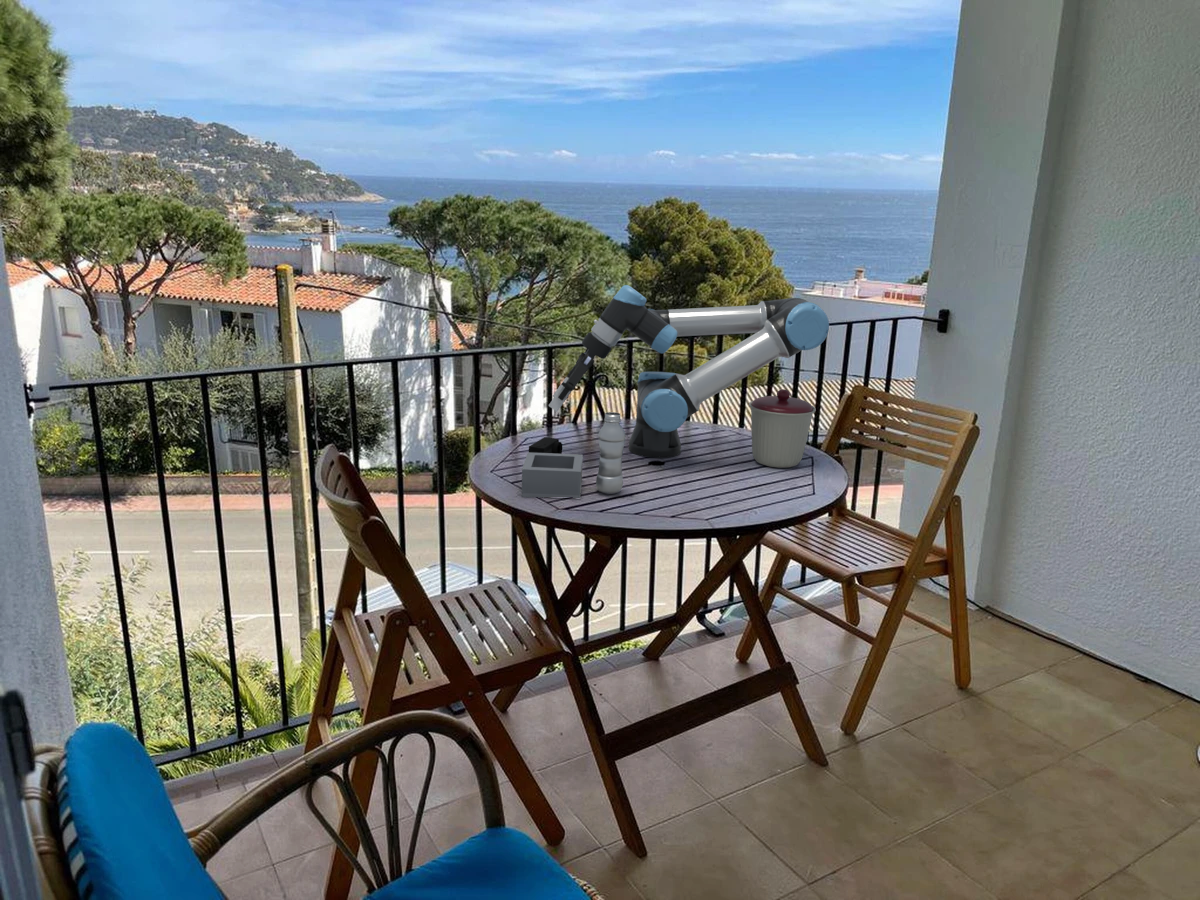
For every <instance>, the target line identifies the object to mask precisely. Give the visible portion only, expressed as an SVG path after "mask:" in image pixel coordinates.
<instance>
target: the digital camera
mask: <svg viewBox="0 0 1200 900" xmlns="http://www.w3.org/2000/svg"><path fill="white" fill-rule="evenodd" d="M528 452H531V453H555V454H563V442H562V441H560V438H555V437H548V436H544V437H542V438H541V439H539V440H537V441H536V442H534V443H532V444H531V445H529V446H528Z"/></svg>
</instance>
